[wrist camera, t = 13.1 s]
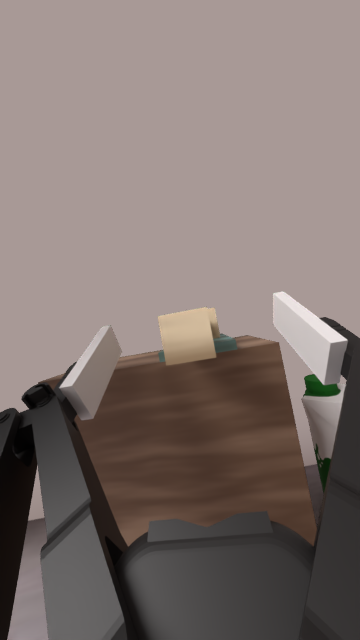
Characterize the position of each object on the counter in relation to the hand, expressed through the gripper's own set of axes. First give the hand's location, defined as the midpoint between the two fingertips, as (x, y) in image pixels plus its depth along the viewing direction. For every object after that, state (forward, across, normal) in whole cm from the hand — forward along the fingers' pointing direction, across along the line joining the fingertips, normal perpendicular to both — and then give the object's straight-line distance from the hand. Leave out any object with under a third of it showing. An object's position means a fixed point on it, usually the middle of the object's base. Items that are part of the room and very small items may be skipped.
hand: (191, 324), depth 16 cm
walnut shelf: (-6, -5, -33) cm, 34 cm away
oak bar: (+4, 0, -5) cm, 6 cm away
